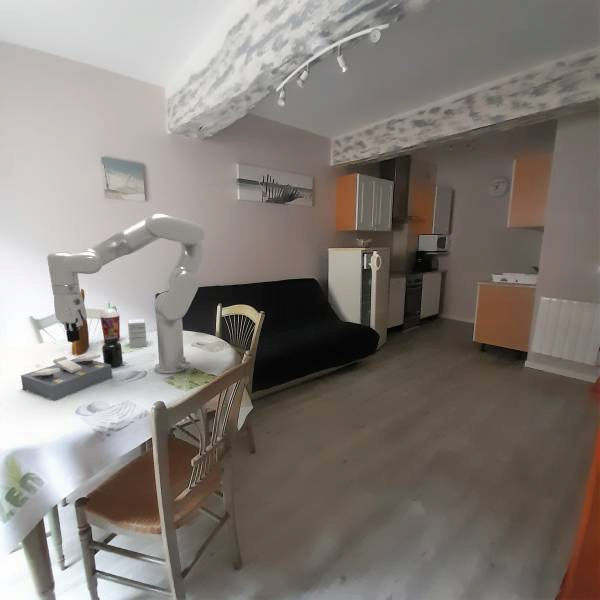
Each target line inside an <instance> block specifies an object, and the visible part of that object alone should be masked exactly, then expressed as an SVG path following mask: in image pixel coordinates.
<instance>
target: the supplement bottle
mask: <svg viewBox="0 0 600 600" xmlns="http://www.w3.org/2000/svg"><path fill="white" fill-rule="evenodd" d="M103 342H104V344H103V345H102V347H101V350H102V351H101V352H102V359H103V363H106V364H109V365H111V369H114V368H115V369H116V368H120V367H121V366H122V365H123V363H124V361H123V360H124V359H123V350H122V344H121V343H120V342H119V341H118V337H116V336H110V337H106V338H104V337H103Z"/></svg>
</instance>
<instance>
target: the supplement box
mask: <svg viewBox="0 0 600 600" xmlns="http://www.w3.org/2000/svg"><path fill="white" fill-rule="evenodd" d="M127 327H128V340H129V346H130V348H129V349H137V348H139V349H141V348H146V347H147V345H148V344H147V342H148V341H147V331H146V329H147V328H146V322H145V318H136V319H135V318H134V319H128V320H127Z"/></svg>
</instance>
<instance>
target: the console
mask: <svg viewBox="0 0 600 600" xmlns="http://www.w3.org/2000/svg"><path fill="white" fill-rule="evenodd" d="M79 357H80V356H79ZM79 357H75V358H72V359H69V360H70V361H72V362H74V359H76V358H79ZM74 363H76V364H78V365H79V366H81V367H82V369H81V370H78V371H75V372H72V373H70V372H69V371H67V370H65V369H63V368H62V367H60V366H58V365H56V364H53V365H51V366H47V367H45V368H46V369H52V368H60V371H59V372H56V373H53V374H50V375H33V376H32V374H31V373H32V372H33V371H32V372H29V373H27V372H26V373H24V374H22V375H20V378H21V386H22V390H24V389H25V391H27V390H28V391H27V392H30V393H32V392H33V394H35V395H38V396H41V397H44V398H46V399H49V400H52V401H57V400H60V399H62V398H65V397H67V396H70V395H72V394H75V393H77V392H79V391H82V390H84V389H86V388H87V389H88V388H90V387H91V386H94V385H97V384H99V383H103V381H106V380H108V379H111V378H113V373H112V368H111V365H109V364H106V363H104V362H100V361H98V360H95V359H94V360H91V361H80V362H74Z"/></svg>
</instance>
